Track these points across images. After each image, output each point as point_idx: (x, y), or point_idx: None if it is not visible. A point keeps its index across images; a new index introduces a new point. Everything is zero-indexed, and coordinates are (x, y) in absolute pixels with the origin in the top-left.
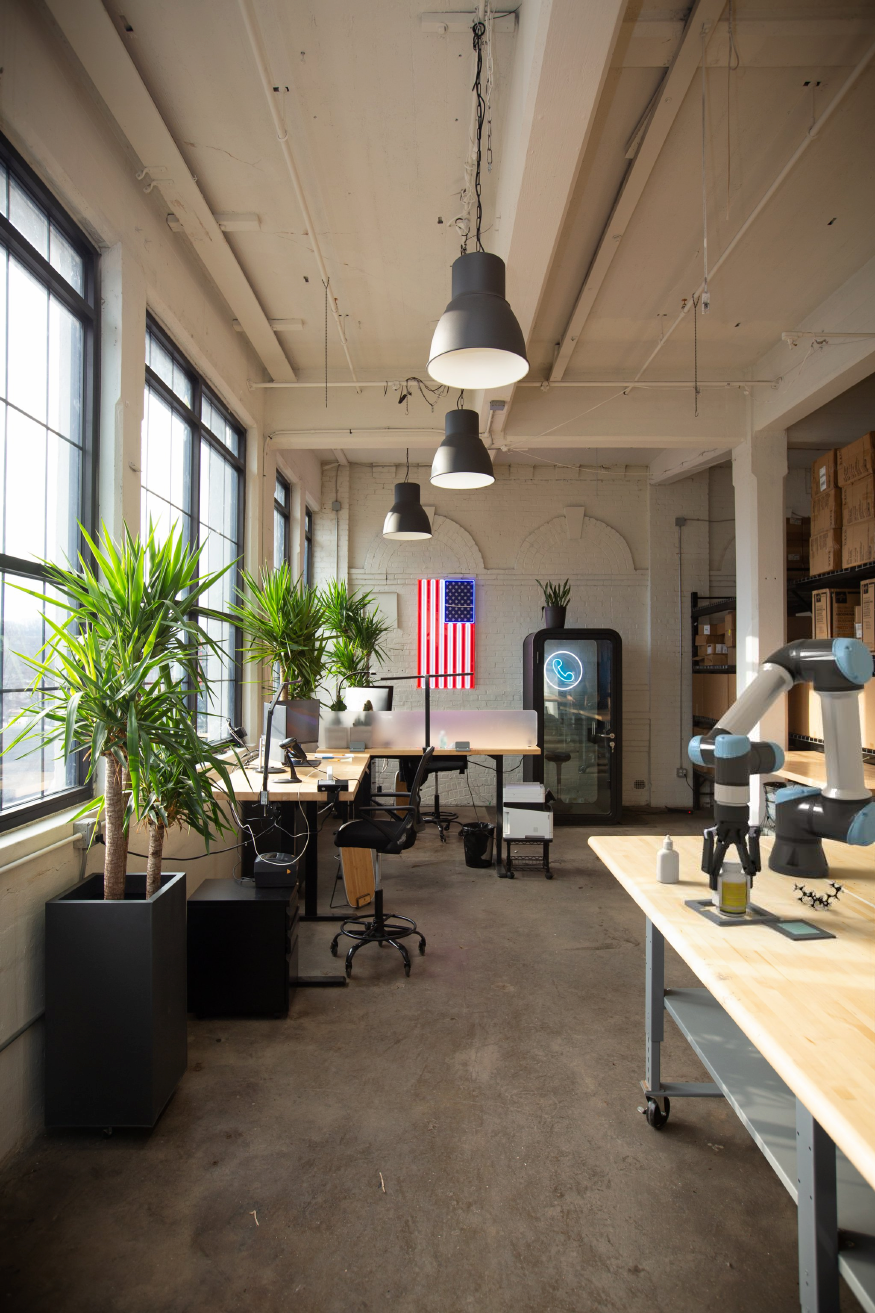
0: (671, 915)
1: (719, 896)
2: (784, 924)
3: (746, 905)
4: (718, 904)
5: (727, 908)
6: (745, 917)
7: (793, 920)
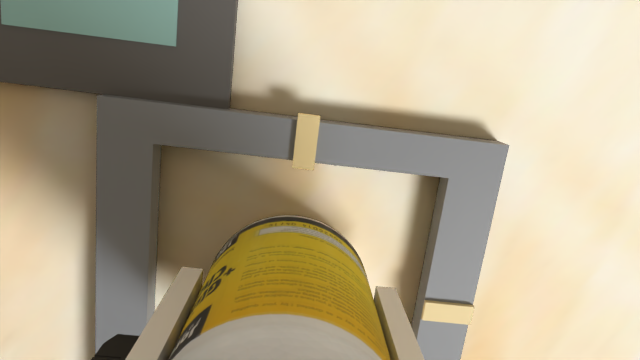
0: (607, 334)
1: (405, 321)
2: (132, 24)
3: None
4: (397, 298)
5: (356, 260)
6: (316, 151)
7: (23, 68)
